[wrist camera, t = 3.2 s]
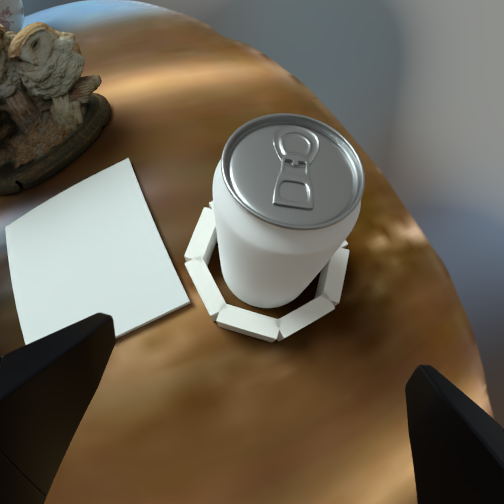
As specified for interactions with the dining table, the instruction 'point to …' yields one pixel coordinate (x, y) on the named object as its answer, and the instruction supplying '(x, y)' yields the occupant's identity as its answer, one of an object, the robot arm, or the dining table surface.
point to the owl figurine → (44, 105)
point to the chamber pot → (12, 15)
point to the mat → (91, 258)
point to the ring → (252, 321)
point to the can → (283, 205)
